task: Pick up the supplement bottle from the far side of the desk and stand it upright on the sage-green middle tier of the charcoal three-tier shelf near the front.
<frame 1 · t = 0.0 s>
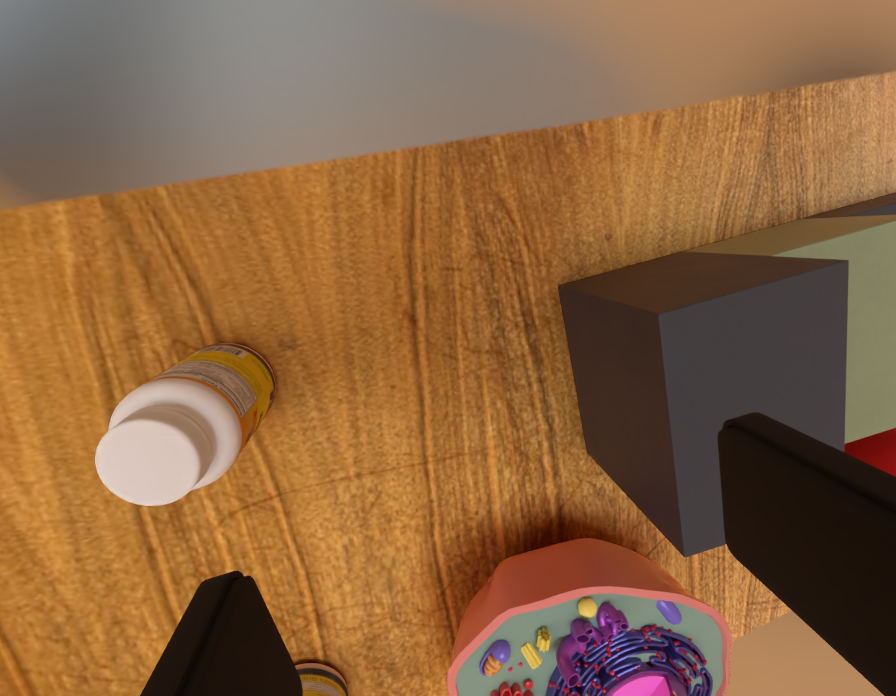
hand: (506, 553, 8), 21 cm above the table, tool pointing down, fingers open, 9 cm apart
red kidney model: (810, 439, 35), on the table
cell model: (549, 588, 35), on the table
tiered shelf: (746, 323, 31), on the table
supplement bottle: (234, 381, 27), on the table
pill bottle: (308, 687, 34), on the table
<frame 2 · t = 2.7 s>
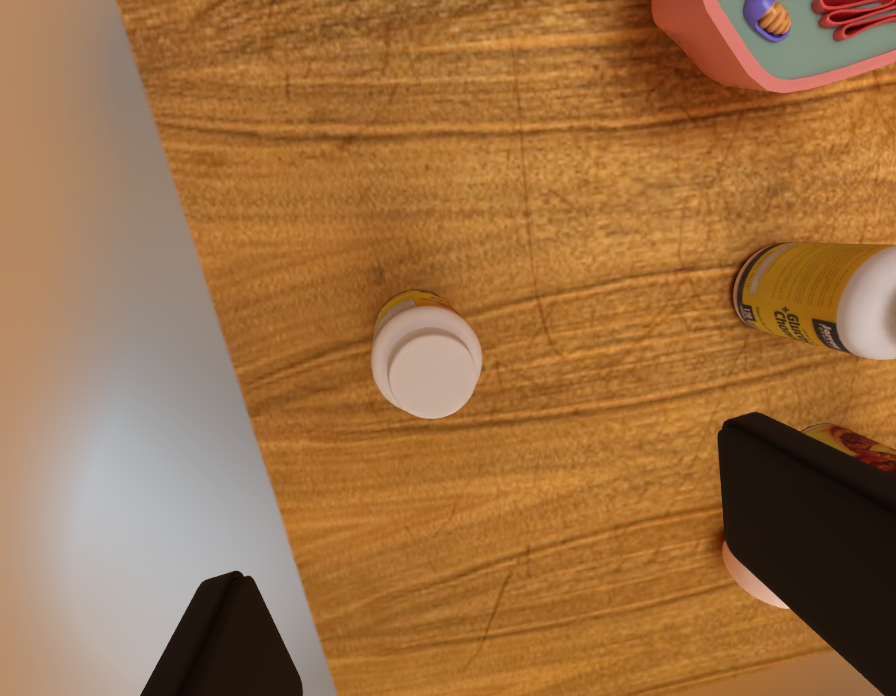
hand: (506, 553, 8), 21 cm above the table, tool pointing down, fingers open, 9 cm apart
supplement bottle: (415, 328, 29), on the table
pill bottle: (765, 286, 32), on the table
canned food: (810, 464, 37), on the table
egg: (729, 537, 38), on the table
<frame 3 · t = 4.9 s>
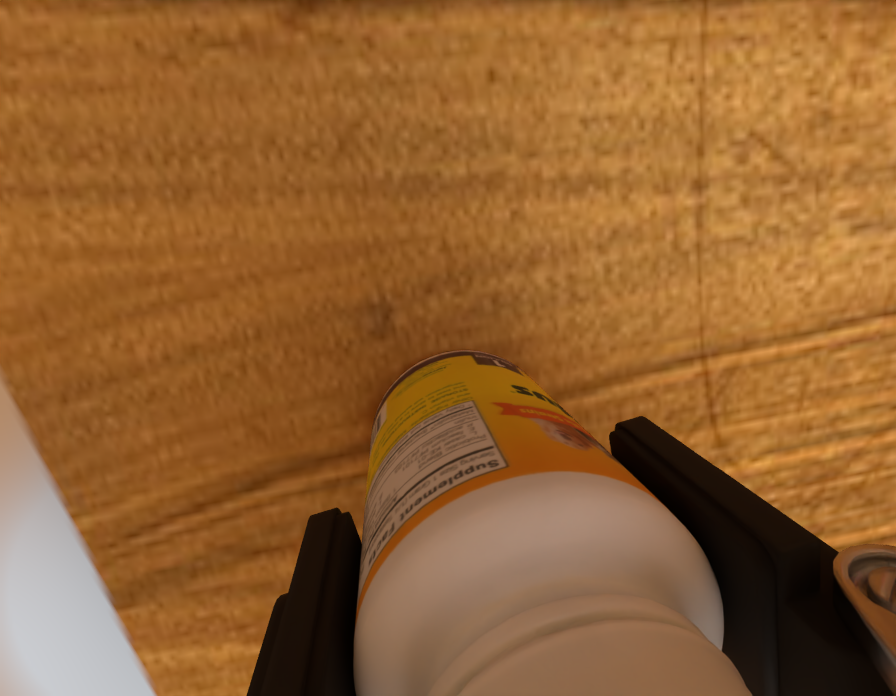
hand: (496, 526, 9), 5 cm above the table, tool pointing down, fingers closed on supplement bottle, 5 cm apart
supplement bottle: (457, 424, 14), on the table, touching gripper
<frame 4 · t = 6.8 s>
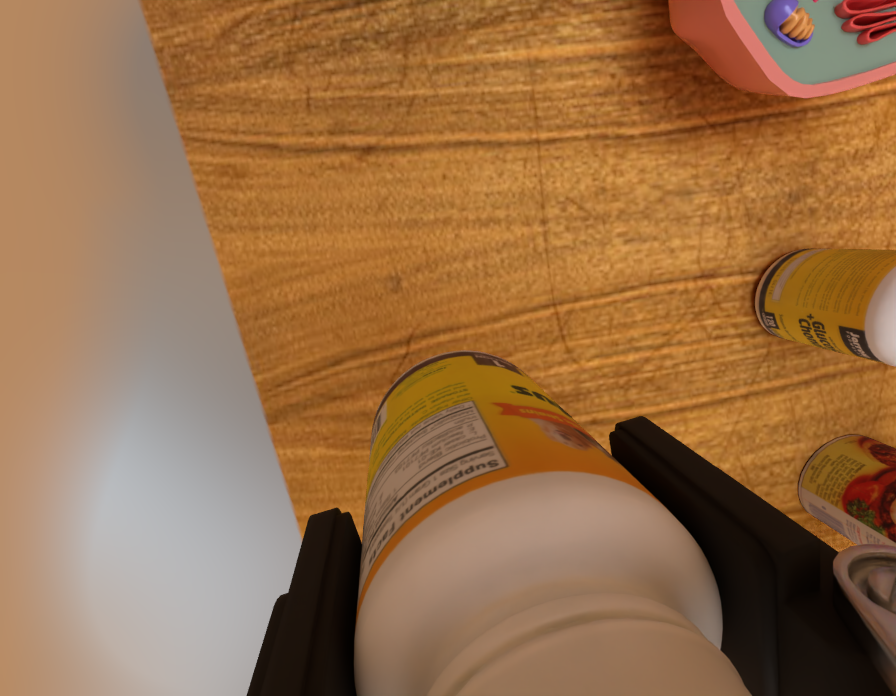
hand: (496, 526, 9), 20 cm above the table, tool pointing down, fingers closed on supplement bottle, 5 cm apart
supplement bottle: (457, 424, 14), point 15 cm above the table, touching gripper
pill bottle: (788, 293, 31), on the table
canned food: (838, 476, 36), on the table
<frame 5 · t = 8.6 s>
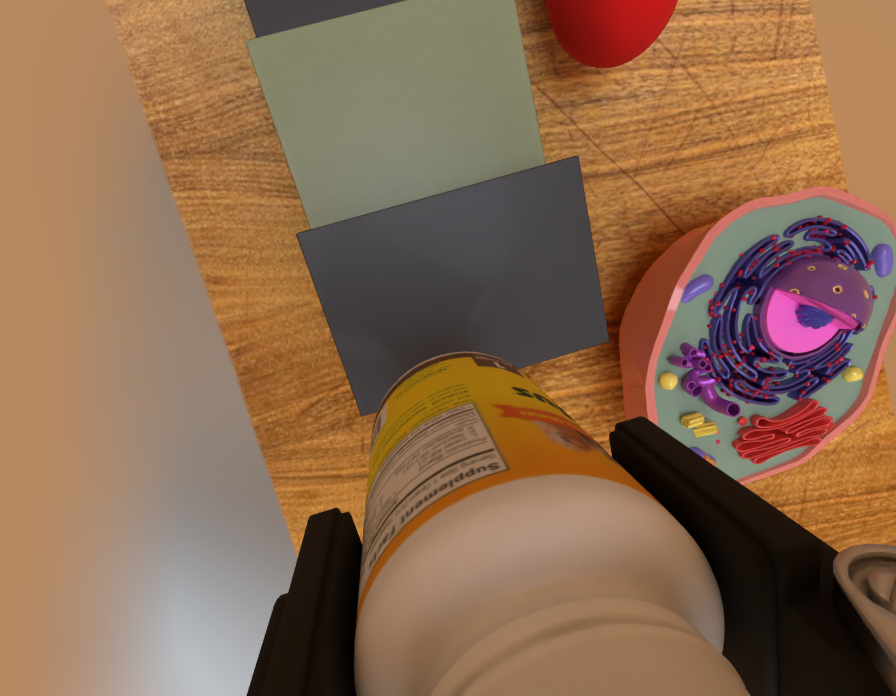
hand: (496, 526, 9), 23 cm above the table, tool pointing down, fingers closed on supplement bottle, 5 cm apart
red kidney model: (554, 4, 27), on the table
cell model: (684, 326, 34), on the table
tiered shelf: (403, 140, 28), on the table
supplement bottle: (458, 425, 14), point 18 cm above the table, touching gripper
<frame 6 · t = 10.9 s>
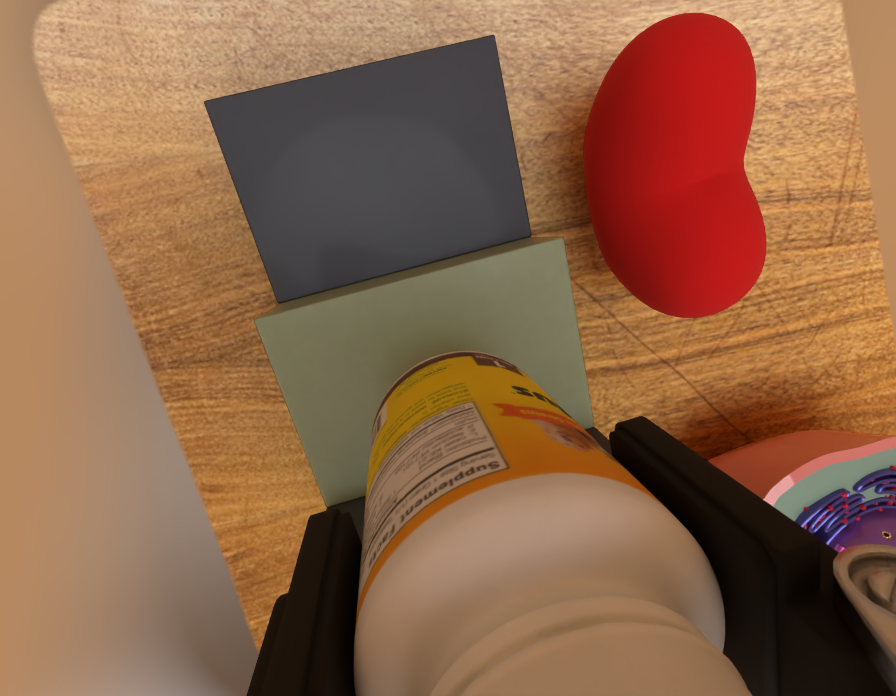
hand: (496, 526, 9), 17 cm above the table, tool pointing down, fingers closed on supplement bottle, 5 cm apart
red kidney model: (596, 197, 25), on the table
cell model: (721, 506, 32), on the table
tiered shelf: (425, 340, 25), on the table
supplement bottle: (457, 424, 14), point 12 cm above the table, touching gripper
when the fingers open (12 cm above the table, at t = 12.6 s): supplement bottle stays where it is, resting on tiered shelf.
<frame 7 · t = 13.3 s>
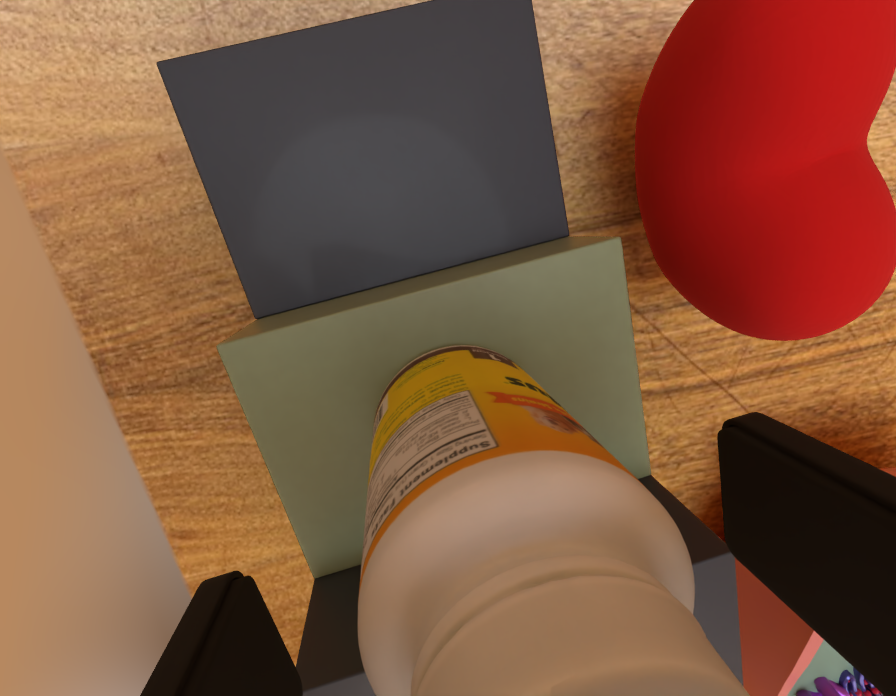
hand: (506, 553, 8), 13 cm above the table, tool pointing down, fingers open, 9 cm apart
red kidney model: (641, 189, 20), on the table
cell model: (774, 547, 27), on the table
tiered shelf: (436, 360, 21), on the table
supplement bottle: (456, 416, 14), point 7 cm above the table, touching tiered shelf
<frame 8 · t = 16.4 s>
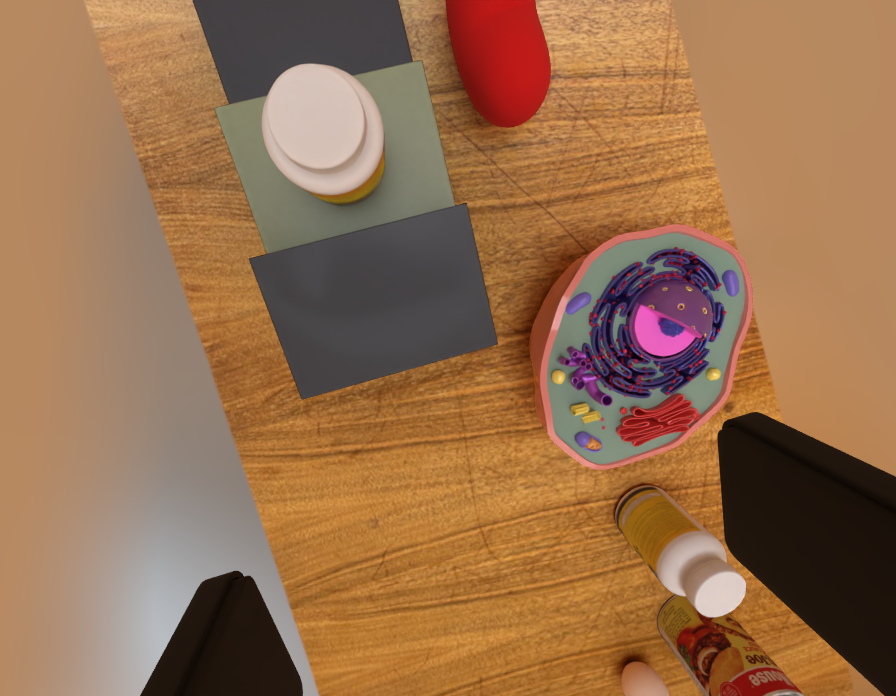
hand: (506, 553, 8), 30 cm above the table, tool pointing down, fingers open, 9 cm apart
red kidney model: (475, 68, 33), on the table
cell model: (594, 332, 40), on the table
tiered shelf: (351, 175, 34), on the table
supplement bottle: (341, 161, 27), point 7 cm above the table, touching tiered shelf
pill bottle: (639, 507, 46), on the table
canned food: (686, 613, 51), on the table
egg: (629, 664, 52), on the table
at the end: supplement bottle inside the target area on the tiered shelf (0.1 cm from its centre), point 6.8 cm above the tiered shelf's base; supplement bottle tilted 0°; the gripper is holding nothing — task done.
